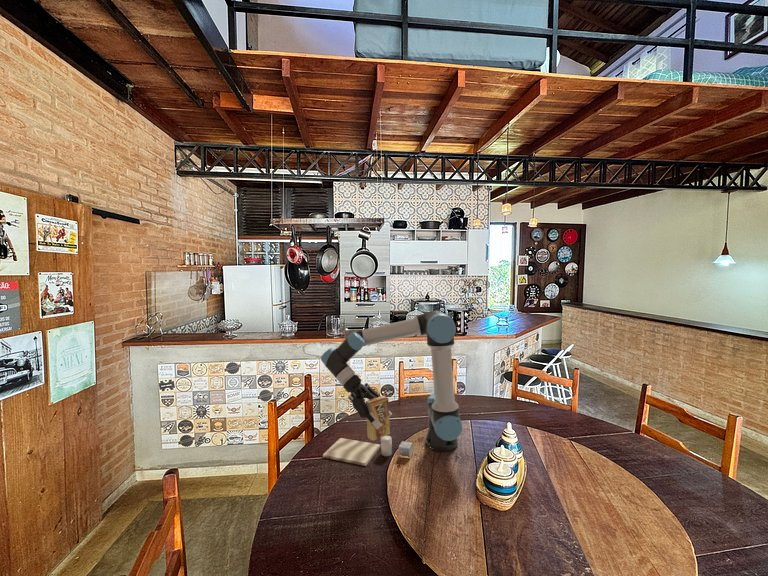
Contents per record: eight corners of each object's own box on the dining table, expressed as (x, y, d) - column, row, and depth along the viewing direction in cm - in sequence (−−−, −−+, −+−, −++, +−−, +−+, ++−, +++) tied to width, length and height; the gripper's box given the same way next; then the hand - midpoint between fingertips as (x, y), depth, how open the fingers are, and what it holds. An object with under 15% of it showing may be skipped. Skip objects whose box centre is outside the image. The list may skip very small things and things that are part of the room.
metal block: (413, 453, 148) (412, 442, 148) (409, 459, 144) (409, 448, 144) (402, 451, 150) (402, 441, 150) (399, 457, 146) (398, 446, 145)
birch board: (380, 447, 155) (380, 444, 155) (365, 465, 140) (365, 463, 140) (340, 440, 164) (340, 437, 164) (322, 457, 149) (322, 454, 149)
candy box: (384, 430, 137) (382, 394, 137) (390, 434, 134) (388, 397, 133) (367, 437, 132) (365, 400, 131) (373, 441, 128) (371, 403, 128)
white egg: (393, 451, 151) (393, 436, 151) (389, 457, 146) (389, 441, 146) (384, 449, 153) (383, 435, 153) (379, 455, 148) (379, 440, 148)
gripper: (356, 377, 148) (390, 415, 142) (329, 394, 128) (367, 440, 122) (366, 366, 146) (400, 405, 140) (340, 382, 126) (379, 428, 120)
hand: (385, 421), depth 131 cm, fingers closed on candy box, 9 cm apart
